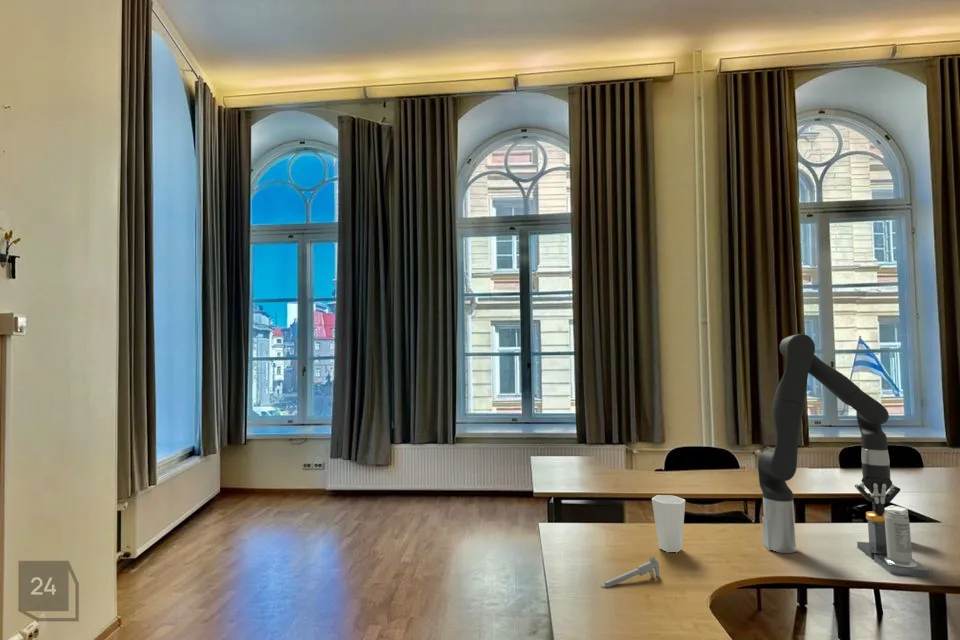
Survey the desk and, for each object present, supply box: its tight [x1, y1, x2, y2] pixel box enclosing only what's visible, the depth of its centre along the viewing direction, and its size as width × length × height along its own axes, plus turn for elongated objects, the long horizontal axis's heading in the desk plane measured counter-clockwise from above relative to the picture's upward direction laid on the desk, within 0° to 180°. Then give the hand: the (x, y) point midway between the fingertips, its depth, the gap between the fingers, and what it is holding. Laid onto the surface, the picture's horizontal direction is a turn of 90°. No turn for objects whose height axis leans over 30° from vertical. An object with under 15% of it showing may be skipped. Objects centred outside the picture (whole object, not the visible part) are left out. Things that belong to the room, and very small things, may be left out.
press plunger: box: [865, 510, 886, 525], centre depth 171 cm, size 7×7×9 cm
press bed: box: [873, 555, 931, 578], centre depth 159 cm, size 10×10×2 cm
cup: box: [651, 494, 686, 554], centre depth 178 cm, size 11×10×17 cm
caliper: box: [600, 555, 660, 589], centre depth 152 cm, size 20×1×6 cm, turn 111°
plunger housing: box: [856, 520, 887, 560], centre depth 171 cm, size 10×10×10 cm
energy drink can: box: [885, 510, 913, 564], centre depth 160 cm, size 6×6×15 cm
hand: (878, 514), depth 171 cm, fingers closed
